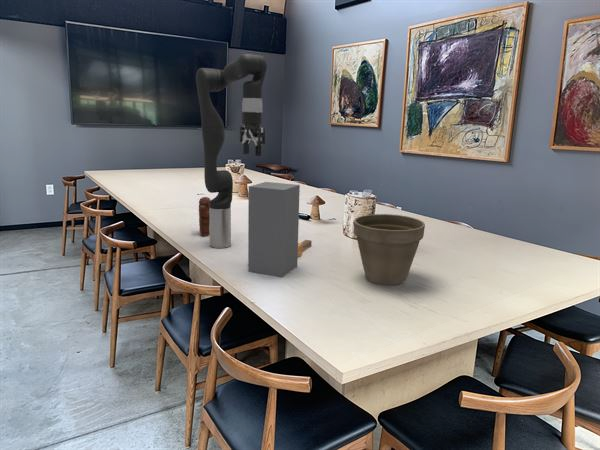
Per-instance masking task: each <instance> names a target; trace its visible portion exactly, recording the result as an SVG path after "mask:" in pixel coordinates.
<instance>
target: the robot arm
mask: <svg viewBox="0 0 600 450" xmlns="http://www.w3.org/2000/svg"><path fill="white" fill-rule="evenodd" d="M267 69H268V63H267V59H266V58H265V57H264V56H263V55H261V54H252V53H242V54H240V55H239V56H238V57H237V59H235V60H234V61H230V62H229V63H227V64H226V65H225V66H224V69H217V68H212V67H211V68H209V67H200V68H198V69H197V70H196V74H195V83H196V90H197V96H198V102H199V108H200V109H199V110H200V120H201V135H202V142H203V143H202V144H203V154H204V155H203V159H204V160H203V161H204V172H203V173H204V185H205V188H206V190H207V192H209V193H211V194H214V193H215V194H217V195H216V196H214V198H212V199H210V200H211V201H210V202H209V216H210V224H209V236H208V237H209V246H210V247H211V248H214V249H215V248H216V249H225V247H226V248H230V247H231V246H232V217H231V216H232V209H231V207H232V202H233V190H234V189H233V188H234V182H233V181H234V179H233V176H232V173H231V172H230V171H229V170H226V169H223V170H222V169H221V170H220V169H219V170H218V168H217V167H218V166H217V163H218V156H219V155H220V152H221V150H222V147H223V145H224V143H225V138H226V136H225V125H224V121H223V119H222V117H221V116H220V114H219V113H218V111H217V110H216V108H215V106H214V105H213V102H212V100H211V96H210V92H212V93H213V92H214V93H215V92H221V91H223V90H224V89H225V88H226V87H228V86H229V85H231V84H233V83H234V82H237V81H240V80H243V79H245V78H247V77H248V76H249V75H253V77H252V78H251V80H248V81H245V82H243V84H242V103H241V122H242V124H243V125H244V126H243V125H242V126H241V125H240V127H239V142H240V143H242V153H243V155H249V154H250V142H251V141H253V142H254V145H255V146H254V156H255V157H261V156H262V146H263V145H265V144H266V128H265V127H260V125H262V124H263V99H262V98H263V85H264V82H265V81H264V80H265V78H266V73H267Z"/></svg>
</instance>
